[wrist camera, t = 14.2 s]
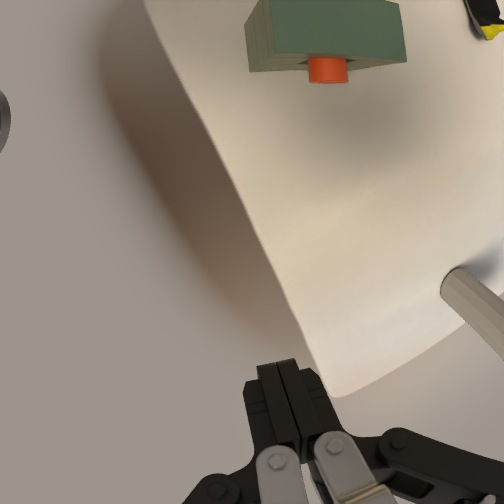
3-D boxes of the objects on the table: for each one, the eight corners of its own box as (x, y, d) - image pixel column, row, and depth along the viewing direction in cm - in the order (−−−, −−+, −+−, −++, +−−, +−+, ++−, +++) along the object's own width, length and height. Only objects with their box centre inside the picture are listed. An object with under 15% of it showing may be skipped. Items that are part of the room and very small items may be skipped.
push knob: (338, 83, 27) (354, 81, 24) (304, 83, 26) (318, 80, 23) (335, 56, 25) (351, 50, 22) (301, 55, 25) (314, 48, 22)
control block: (348, 71, 31) (407, 62, 21) (249, 72, 30) (276, 53, 19) (342, 27, 29) (398, 3, 18) (244, 24, 27) (267, -14, 17)
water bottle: (433, 284, 48) (524, 374, 26) (462, 257, 47) (556, 335, 25) (442, 312, 52) (518, 395, 30) (468, 287, 51) (548, 361, 29)
